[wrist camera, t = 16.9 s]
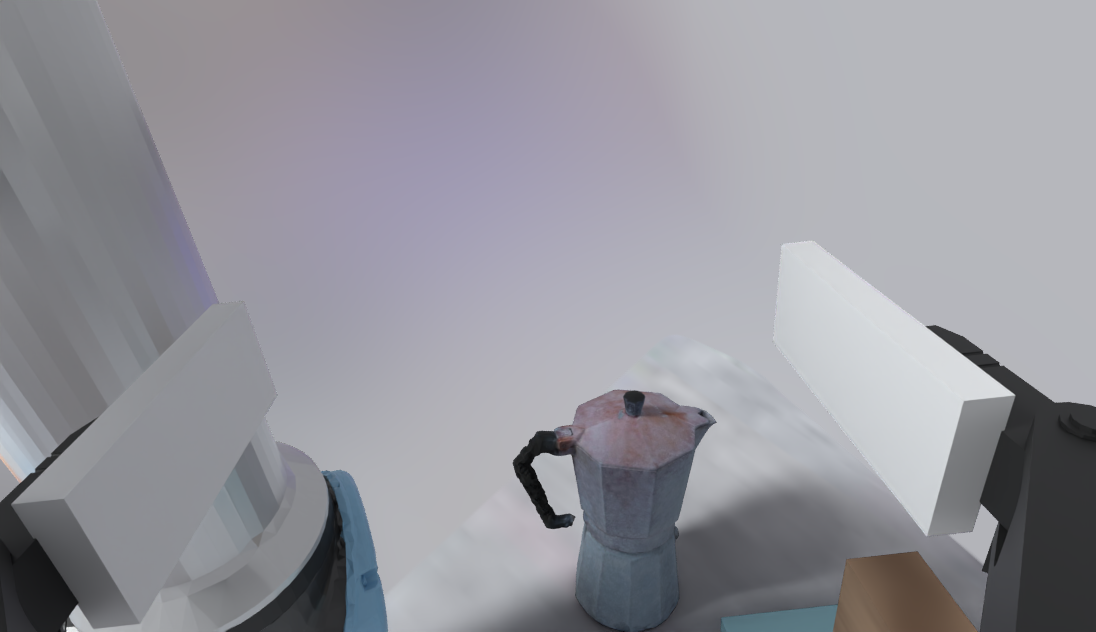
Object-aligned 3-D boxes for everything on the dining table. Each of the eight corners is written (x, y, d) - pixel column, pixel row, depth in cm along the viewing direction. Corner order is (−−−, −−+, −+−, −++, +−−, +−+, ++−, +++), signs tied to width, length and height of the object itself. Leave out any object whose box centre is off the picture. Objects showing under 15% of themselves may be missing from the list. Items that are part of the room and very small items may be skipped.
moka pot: (734, 611, 49) (749, 410, 40) (552, 670, 46) (524, 468, 37) (681, 526, 57) (683, 344, 48) (523, 572, 54) (495, 386, 45)
